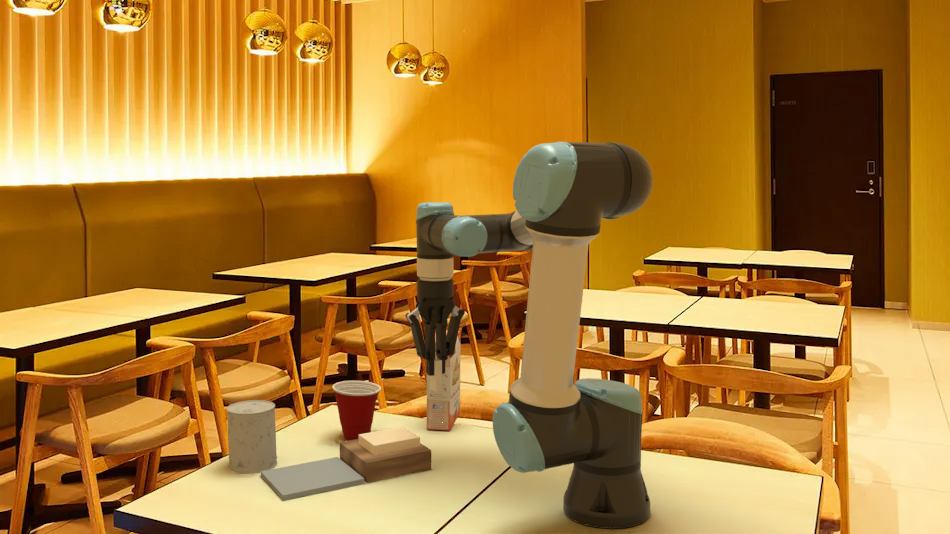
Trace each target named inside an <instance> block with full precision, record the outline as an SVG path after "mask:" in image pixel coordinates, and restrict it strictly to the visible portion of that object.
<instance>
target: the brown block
mask: <svg viewBox="0 0 950 534" xmlns="http://www.w3.org/2000/svg"><path fill="white" fill-rule="evenodd" d="M338 443H339V458H340V459H341V460H342V461H343V462H345V463H346V464H347V465H348V466H350V467H351V468H352V469H353V470H354V471H356V472H357V473H358V474H359V475H361V476H362V477H363V478H364V483H366V484H368V483H373V482H377V481H379V482H380V481H383V480H389V479H392V478H396V477H401V476H403V477H404V476H407V475H411V474H417V473H420V472H426V471H430V470H432V469H433V468H432V467H433V466H432V449H430V448H428V447H427V446H425V445H424V444H423V443H421V442H420V447H416V448H411V449H406V450H400V451H395V452H390V453H385V454H380V455H373V454H372V453H370V452H369V451H368V450H366V449H365V448H364V447H362V446H361V445H359V439H355V440H349V441H347V440H345V441H340V442H338Z"/></svg>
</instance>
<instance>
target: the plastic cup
mask: <svg viewBox="0 0 950 534" xmlns="http://www.w3.org/2000/svg"><path fill="white" fill-rule="evenodd" d="M332 390H333V392H334V397H335V401H336V406H337V410H338V411H337V412H338V417H339V422H340V426H341V429H342V436H343V439H344V440H345V441H349V440H355V439H359V435H358V434H364V433H370V432H372V424H373V421H374V416H375V415H374V414H375V409H376V402H377V399H378V395H379V393H380V392H381V390H382V386H380V385H379V384H377V383H374V382H372V381H366V380H343V381H339V382H336V383H334V384H333V385H332Z"/></svg>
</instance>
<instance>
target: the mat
mask: <svg viewBox="0 0 950 534" xmlns="http://www.w3.org/2000/svg"><path fill="white" fill-rule="evenodd" d="M260 477H261V478H262V479H263V480H264V482H265V483H267V485H269V487H270V488H271V489H272V490H273V491H274V492H275V494H277V496H278V497H279V498H280V499H281V500H282V501H283V502H284V501H288V500H292V499H293V500H294V499H297V498H304V497H307V496H312V495H317V494H320V493H325V492H330V491H336V490H340V489H345V488H350V487H355V486H359V485H364V484H365V483H366V482H365V481H364V478H363V477H362V476H361V475H359V474H358V473H357V472H356V471H354V470H353V469H352V468H351V467H350V466H348V465H347V464H346V463H345V462H343V461H342V460H341V459H340V457H338V456H336V457H329V458H324V459H319V460H314V461H308V462H304V463H299V464H292V465H287V466H282V467H277V468H272V469H270V470H266V471H261V472H260Z"/></svg>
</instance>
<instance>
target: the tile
mask: <svg viewBox="0 0 950 534" xmlns="http://www.w3.org/2000/svg"><path fill="white" fill-rule="evenodd" d="M358 435H359V445H361V446H362V447H364V448H365V449H366V450H368V451H369V452H370V453H372V454H373V455H380V454H385V453H390V452H395V451H400V450H406V449H411V448H416V447H420V443H421V437H420V436H419V435H418V434H416V433H415V432H412V431H411V430H409V429H408V428H406V427H404V426H398V427H392V428H386V429H381V430H376V431H371V432H370V433H364V434H358Z"/></svg>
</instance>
